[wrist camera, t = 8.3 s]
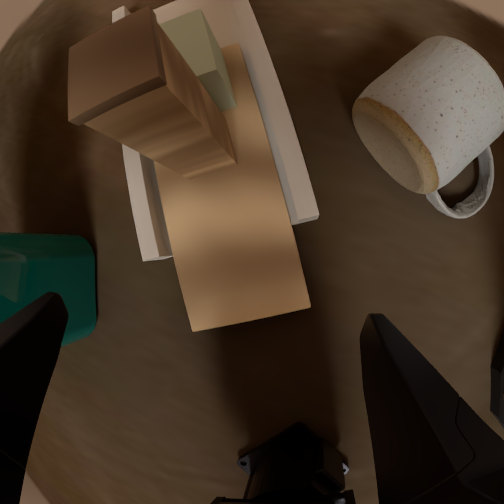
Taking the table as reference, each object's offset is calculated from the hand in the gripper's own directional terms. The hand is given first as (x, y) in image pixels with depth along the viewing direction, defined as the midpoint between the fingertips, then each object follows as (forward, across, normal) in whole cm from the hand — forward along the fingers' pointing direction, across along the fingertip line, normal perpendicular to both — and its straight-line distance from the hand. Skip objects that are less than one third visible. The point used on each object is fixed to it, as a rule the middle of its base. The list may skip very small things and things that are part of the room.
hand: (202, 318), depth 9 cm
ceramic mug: (+15, -13, -2) cm, 20 cm away
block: (+16, +4, -4) cm, 17 cm away
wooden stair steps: (+14, +1, +1) cm, 14 cm away
